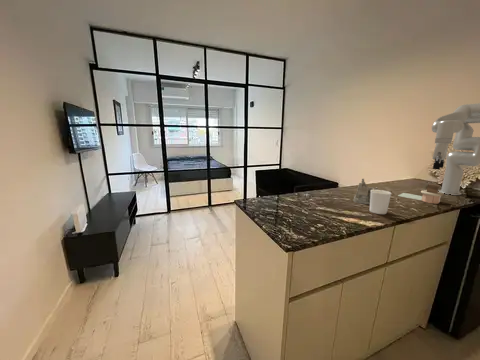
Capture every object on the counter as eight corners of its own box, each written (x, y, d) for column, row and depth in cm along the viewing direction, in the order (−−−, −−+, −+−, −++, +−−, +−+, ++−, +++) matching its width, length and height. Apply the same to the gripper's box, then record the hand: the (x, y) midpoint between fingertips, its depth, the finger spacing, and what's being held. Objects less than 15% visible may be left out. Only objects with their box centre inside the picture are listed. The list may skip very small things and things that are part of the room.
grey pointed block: (350, 201, 138) (354, 179, 135) (357, 196, 150) (362, 176, 146) (376, 208, 128) (382, 184, 124) (382, 203, 139) (388, 181, 136)
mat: (403, 193, 156) (403, 192, 156) (425, 197, 146) (425, 196, 146) (397, 196, 148) (397, 195, 148) (420, 201, 138) (420, 200, 138)
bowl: (423, 199, 141) (425, 191, 140) (439, 203, 135) (441, 194, 133) (420, 202, 136) (421, 193, 135) (437, 205, 130) (439, 196, 128)
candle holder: (385, 216, 112) (388, 195, 110) (365, 211, 120) (368, 191, 117) (390, 212, 119) (393, 192, 116) (371, 207, 126) (373, 188, 123)
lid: (423, 190, 142) (424, 182, 140) (445, 194, 133) (447, 185, 132) (418, 193, 135) (420, 184, 134) (441, 197, 127) (443, 187, 125)
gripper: (438, 140, 136) (433, 166, 139) (431, 141, 125) (426, 169, 129) (454, 140, 130) (448, 167, 134) (449, 141, 120) (443, 170, 123)
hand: (437, 168), depth 131 cm, fingers open, 9 cm apart
